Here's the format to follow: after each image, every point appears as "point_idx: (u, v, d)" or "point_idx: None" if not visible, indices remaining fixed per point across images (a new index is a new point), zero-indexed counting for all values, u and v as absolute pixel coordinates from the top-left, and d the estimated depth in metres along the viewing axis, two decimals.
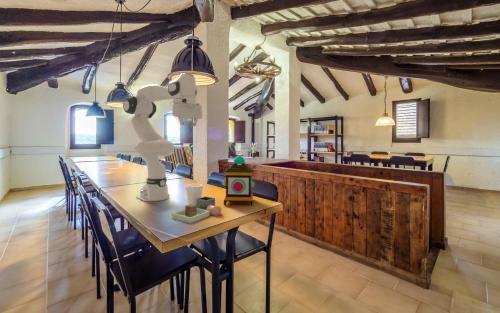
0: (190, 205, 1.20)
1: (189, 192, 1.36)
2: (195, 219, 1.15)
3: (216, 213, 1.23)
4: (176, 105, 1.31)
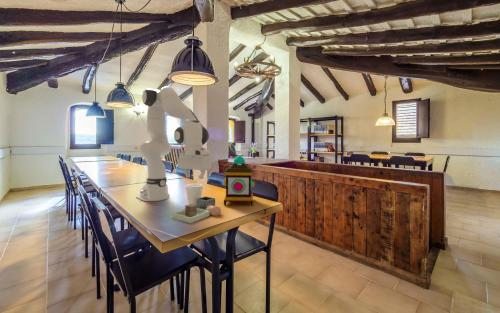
0: (190, 205, 1.20)
1: (189, 192, 1.36)
2: (195, 219, 1.15)
3: (216, 214, 1.23)
4: (209, 158, 1.17)
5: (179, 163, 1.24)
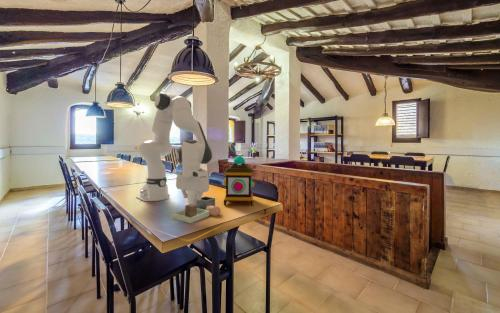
0: (190, 205, 1.20)
1: (189, 192, 1.36)
2: (195, 219, 1.15)
3: (215, 214, 1.23)
4: (206, 179, 1.16)
5: (177, 183, 1.23)
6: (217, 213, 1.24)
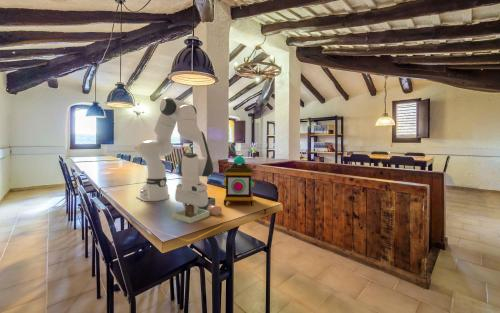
0: (190, 205, 1.20)
1: None
2: (195, 219, 1.15)
3: (216, 213, 1.24)
4: (205, 194, 1.16)
5: (176, 196, 1.24)
6: (218, 213, 1.25)
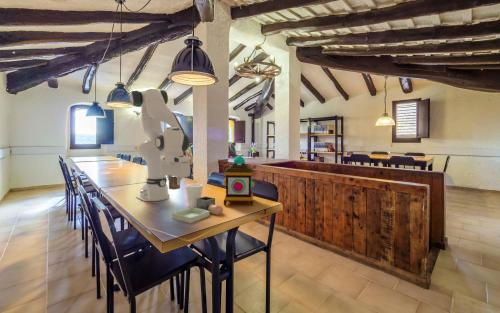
0: (173, 177, 1.24)
1: (189, 192, 1.36)
2: (195, 219, 1.15)
3: (218, 211, 1.24)
4: (187, 165, 1.20)
5: (161, 169, 1.28)
6: (219, 212, 1.25)
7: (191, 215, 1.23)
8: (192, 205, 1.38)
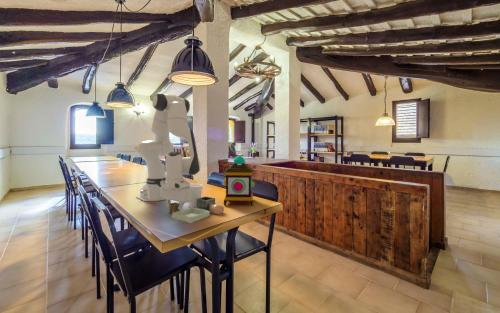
0: (174, 203, 1.26)
1: None
2: (195, 219, 1.15)
3: (219, 210, 1.25)
4: (188, 190, 1.21)
5: (161, 193, 1.29)
6: (219, 211, 1.26)
7: (191, 215, 1.23)
8: (192, 205, 1.38)
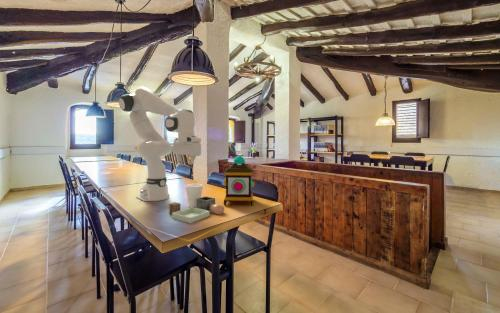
0: (174, 203, 1.26)
1: (189, 192, 1.36)
2: (195, 219, 1.15)
3: (219, 209, 1.25)
4: (199, 145, 1.29)
5: (173, 149, 1.37)
6: (220, 211, 1.26)
7: (191, 215, 1.23)
8: (192, 205, 1.38)
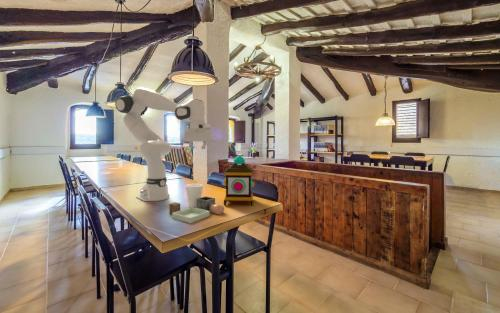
0: (174, 203, 1.26)
1: (189, 192, 1.36)
2: (195, 219, 1.15)
3: (219, 209, 1.25)
4: (210, 131, 1.40)
5: (185, 136, 1.48)
6: (220, 211, 1.26)
7: (191, 215, 1.23)
8: (192, 205, 1.38)
